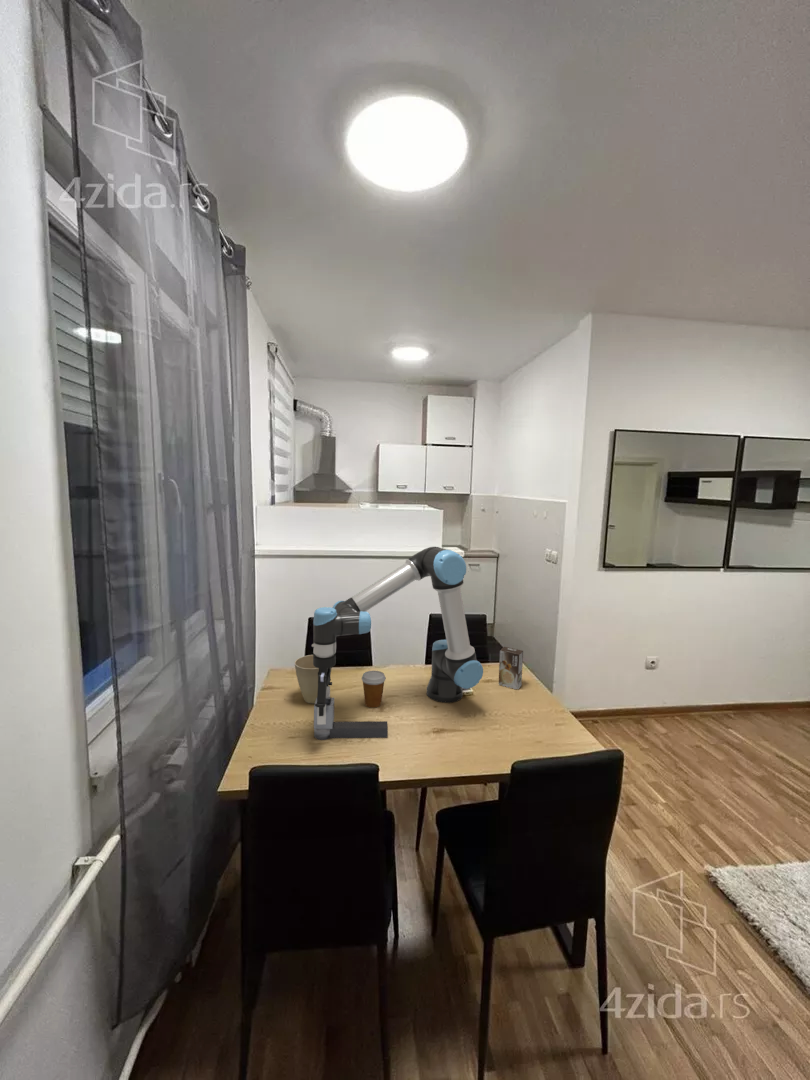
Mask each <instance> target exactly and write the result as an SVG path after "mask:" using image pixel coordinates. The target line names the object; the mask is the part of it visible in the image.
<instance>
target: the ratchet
mask: <svg viewBox="0 0 810 1080" xmlns="http://www.w3.org/2000/svg"><path fill="white" fill-rule="evenodd" d="M388 725H389V723H388V720H385V721H383V720H382V721H381V720H379V721H377V720H373V721H369V720H368V721H334V723H333V728H332V729H314V728H313V731H314V732H313V733H314V734H313V737H314V738H315V739H316V740H319V741H326V740H330V739H388V737H389V736H388V731H389V727H388Z"/></svg>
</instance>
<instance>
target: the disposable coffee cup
mask: <svg viewBox="0 0 810 1080" xmlns="http://www.w3.org/2000/svg"><path fill="white" fill-rule="evenodd" d="M361 681H362V686H363V694H364V695H363V697H364V705H365V706H366V707H368V708H373V709H374V708H378V707H380V706H381V705H382V700H383V693H384V685H385V682H386V676H385V673H384V672H382V671H379V670H369V671H365V672H363V674H362V676H361Z"/></svg>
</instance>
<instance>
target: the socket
mask: <svg viewBox="0 0 810 1080" xmlns="http://www.w3.org/2000/svg"><path fill="white" fill-rule="evenodd" d="M315 704H317V698H316V701H315V703H314V705H313V730H314V729H332V728H333V723H334V722H335V697H330V698H326V702H325V704H326V724H322V725H317V706H315Z"/></svg>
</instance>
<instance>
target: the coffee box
mask: <svg viewBox="0 0 810 1080" xmlns="http://www.w3.org/2000/svg"><path fill="white" fill-rule="evenodd" d="M523 661H524V650H522V649H518V648H513V647H508V646H503V647H502V648H501V649H500V650H499V664H498V683H497V684H499V685H498V686H501V685H502V686H501V687H505V686H506V687H505V688H509V687H510V689H512V688H513V689H514V690H516V689H518V690H519V689H520V688H521V687H522V683H523V682H522V681H523V665H524V664H523V663H524V662H523Z"/></svg>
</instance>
